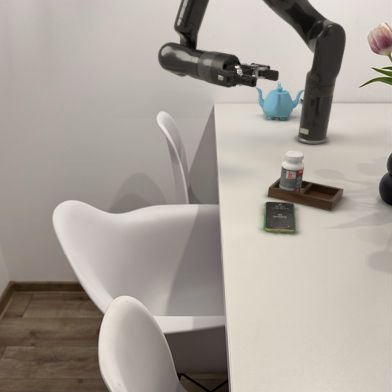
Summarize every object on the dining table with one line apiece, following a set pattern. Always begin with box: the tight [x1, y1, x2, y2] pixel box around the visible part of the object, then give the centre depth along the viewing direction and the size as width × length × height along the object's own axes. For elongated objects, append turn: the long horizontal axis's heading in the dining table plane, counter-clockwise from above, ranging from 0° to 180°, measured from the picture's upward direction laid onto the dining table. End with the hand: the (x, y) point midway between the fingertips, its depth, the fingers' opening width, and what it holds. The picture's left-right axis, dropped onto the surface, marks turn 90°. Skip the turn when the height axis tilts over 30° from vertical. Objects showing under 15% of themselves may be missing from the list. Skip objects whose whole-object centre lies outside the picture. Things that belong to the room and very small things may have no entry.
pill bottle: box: [279, 150, 305, 193], centre depth 126 cm, size 6×6×10 cm
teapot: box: [254, 81, 304, 121], centre depth 178 cm, size 13×13×10 cm
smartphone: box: [263, 201, 297, 234], centre depth 118 cm, size 8×1×15 cm
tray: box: [267, 176, 345, 212], centre depth 127 cm, size 9×17×2 cm, turn 60°
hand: (267, 79), depth 118 cm, fingers open, 8 cm apart
